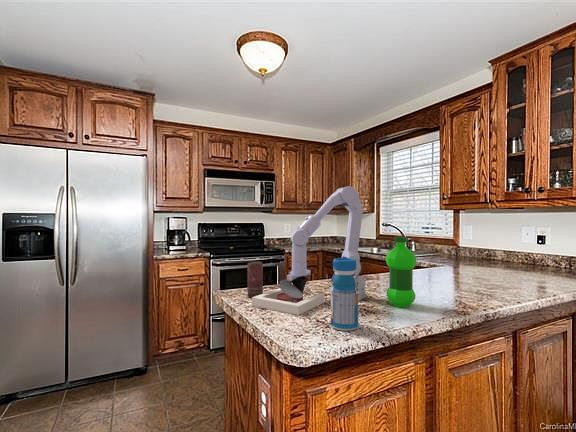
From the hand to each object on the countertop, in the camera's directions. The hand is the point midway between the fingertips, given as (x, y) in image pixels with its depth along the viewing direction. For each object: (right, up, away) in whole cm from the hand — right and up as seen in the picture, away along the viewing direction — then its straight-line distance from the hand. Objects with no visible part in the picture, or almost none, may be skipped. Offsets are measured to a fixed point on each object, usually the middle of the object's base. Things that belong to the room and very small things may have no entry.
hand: (299, 296), depth 125 cm
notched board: (-4, -1, -6) cm, 7 cm away
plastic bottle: (+37, -2, -8) cm, 38 cm away
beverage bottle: (+12, -2, -30) cm, 32 cm away
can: (-18, -2, +4) cm, 18 cm away
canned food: (-4, -2, -6) cm, 7 cm away
